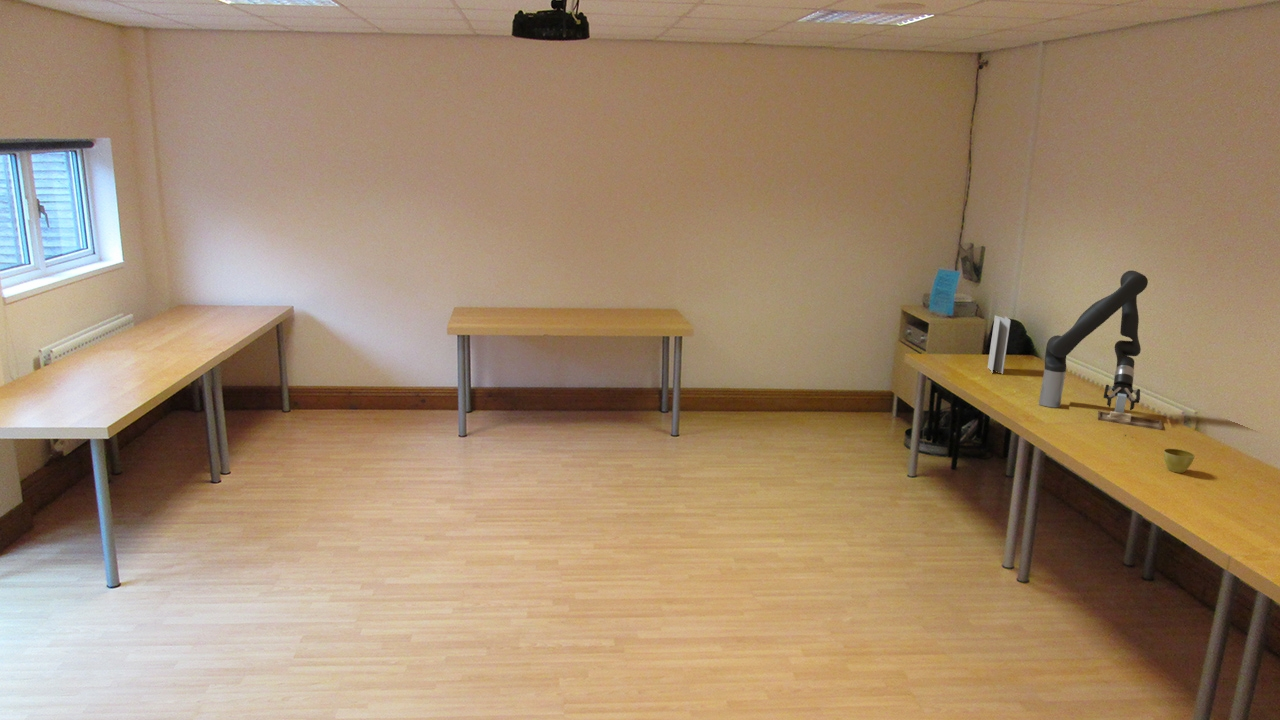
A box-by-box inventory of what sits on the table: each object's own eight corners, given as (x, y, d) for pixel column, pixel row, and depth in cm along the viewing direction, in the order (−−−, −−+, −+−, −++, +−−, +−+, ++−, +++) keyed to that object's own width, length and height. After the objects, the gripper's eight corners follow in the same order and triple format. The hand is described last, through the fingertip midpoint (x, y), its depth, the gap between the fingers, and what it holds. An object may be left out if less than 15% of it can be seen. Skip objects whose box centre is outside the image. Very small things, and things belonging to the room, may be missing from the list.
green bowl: (1154, 465, 337) (1157, 448, 335) (1179, 466, 337) (1182, 448, 336) (1171, 475, 327) (1175, 456, 325) (1197, 475, 328) (1201, 457, 326)
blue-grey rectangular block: (1113, 419, 393) (1118, 395, 391) (1113, 416, 398) (1117, 393, 395) (1122, 420, 392) (1126, 396, 389) (1122, 417, 396) (1126, 394, 394)
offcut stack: (1106, 420, 390) (1108, 412, 389) (1106, 419, 393) (1108, 410, 392) (1129, 424, 386) (1131, 415, 385) (1129, 422, 389) (1131, 413, 388)
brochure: (1002, 374, 476) (1010, 320, 469) (992, 374, 477) (999, 319, 470) (997, 369, 489) (1005, 316, 483) (987, 368, 490) (994, 315, 484)
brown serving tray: (1097, 423, 391) (1098, 417, 390) (1097, 416, 402) (1098, 411, 402) (1161, 433, 380) (1163, 427, 380) (1160, 426, 392) (1161, 420, 391)
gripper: (1107, 370, 400) (1103, 400, 393) (1143, 375, 394) (1139, 405, 386) (1105, 379, 406) (1101, 409, 398) (1140, 384, 400) (1137, 414, 392)
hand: (1120, 407), depth 392 cm, fingers open, 8 cm apart
